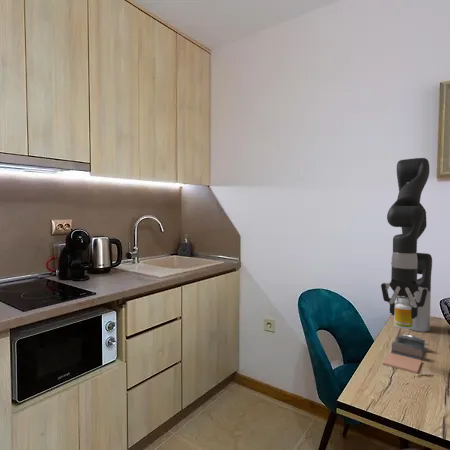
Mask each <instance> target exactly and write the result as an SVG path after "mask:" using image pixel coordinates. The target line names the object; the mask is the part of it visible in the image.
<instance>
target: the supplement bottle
mask: <svg viewBox="0 0 450 450" xmlns="http://www.w3.org/2000/svg"><path fill="white" fill-rule="evenodd" d="M410 303H411V301H410V299H409V298H408V297H404V296H397V298H396V303H395V307H394V315H393V317H394V318H393V324H394V327H396V328H399V329H403V330H404V329H405V330H411V328H412V325H413V319H412V307H413V306H412V305H411V304H410Z"/></svg>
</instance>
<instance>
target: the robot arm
mask: <svg viewBox="0 0 450 450" xmlns="http://www.w3.org/2000/svg"><path fill="white" fill-rule="evenodd" d="M429 177H430V163H429V160H428V158H426V157H416V158H415V157H414V158H407V159H400V160H398V162H397V164H396V178H397V185H398V195H397V199H396V201H394V203H393V204H392V205H391V207H390V208H389V210H388V211H387V215H386V220H387V223H388V224H389V225H390V226H392V227H393V228H401V233H400V234H399V233H398V234H396V235H394V236H393V238H392V256H391V262H390V263H391V264H390V265H391V275H390V276H391V277H390V278H391V280H390V282H388V283H387V282H383V283H381V285H380V288H381V293H382V297H383V298H382V299H383V301H384V302H387V303H388V304H389V313H390V314H391V315H392V316H394V307H395V304H396V303H395V302H396V301H397V297H398V296H403V297H408V298H409V299H410V301H411V303H410V304H411V305H412V306H413V307H412V319H413V325H412V328H411V329H410V330H411V331H415V332H421V333H422V332H424V333H426V332H429V331H431V302H432V301H431V298H432V297H431V296H432V295H431V293H432V290H431V289H432V270H433V258H432V254H430V253H426V252H418V245H417V244H418V240H419V238H420V237H421V236H422V235H423V233H424V232H425V230H426V229H427V211H426V209H425V207H424V206H423V205H422V203H421V195H422V193H423V191H424V188H425V186H426V184H427V182H428V180H429ZM418 275H422V276H421V277H420V278H418ZM390 288H391V289H392V291H393V293H392V295H391V297H390V296H389V291H388V290H389V289H390Z"/></svg>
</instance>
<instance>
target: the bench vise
mask: <svg viewBox="0 0 450 450" xmlns="http://www.w3.org/2000/svg"><path fill="white" fill-rule="evenodd" d="M423 338H424V337H419V336H415V335H412V334H411V335H410V334H405V333H404V334H403V335H401V334H397V335H396V340H395V341H392V343H391V353H393V354H397V355H401V356H405V357H410V358H414V359H418V360H422V358H423V355H424V352H425V350H426V340H425V339H423Z"/></svg>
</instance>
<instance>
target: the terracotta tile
mask: <svg viewBox="0 0 450 450" xmlns="http://www.w3.org/2000/svg"><path fill="white" fill-rule="evenodd" d="M422 363H423V360H422V359H421V360H418V359H414V358H410V357H405V356H401V355H397V354H393V353H392V352H388V354H387V355H386V357H385V358H384V360H383V361H382V366H388V367H391V368H395V369H399V370H402V371H407V372H410V373H415V374H418V373H419V370H420V367H421V366H422Z"/></svg>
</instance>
